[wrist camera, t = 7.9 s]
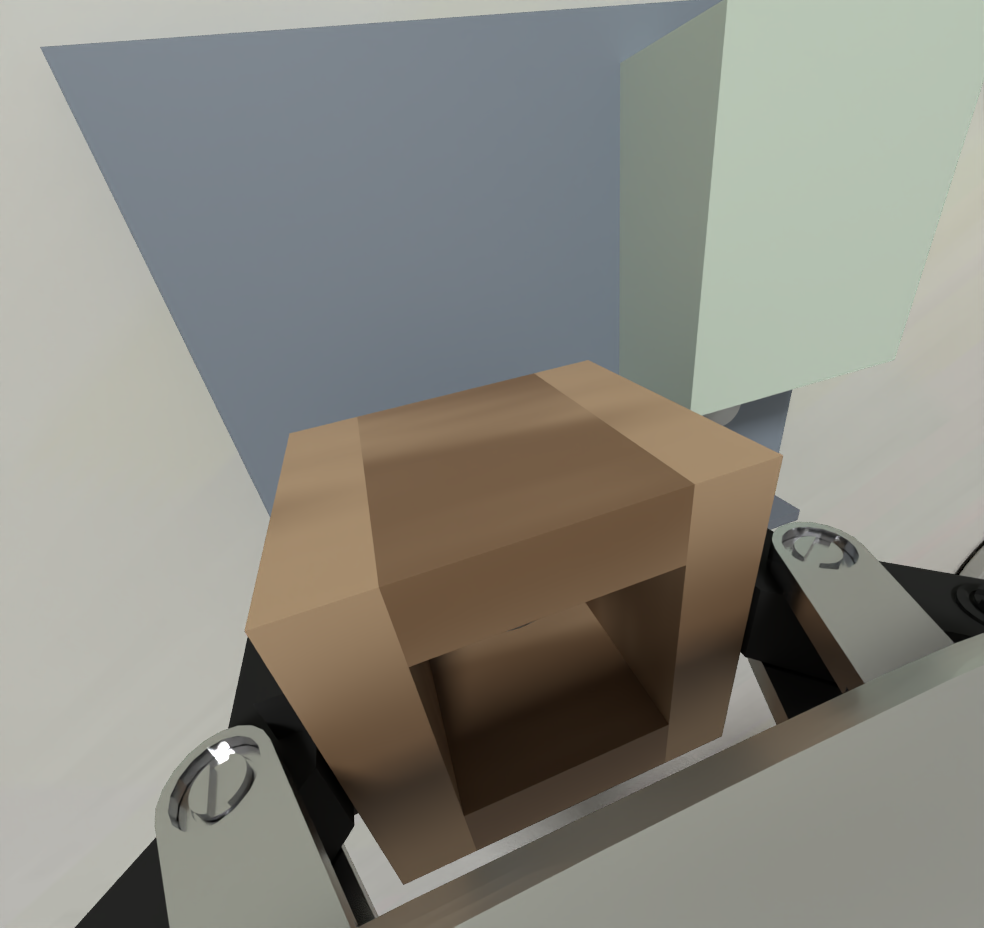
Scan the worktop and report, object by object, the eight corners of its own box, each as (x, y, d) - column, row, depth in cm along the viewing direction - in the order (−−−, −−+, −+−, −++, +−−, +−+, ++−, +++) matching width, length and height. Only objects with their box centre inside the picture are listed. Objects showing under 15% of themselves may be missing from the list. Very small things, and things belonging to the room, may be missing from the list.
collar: (595, 572, 13) (721, 736, 9) (378, 648, 12) (403, 884, 7) (588, 359, 10) (782, 455, 6) (289, 433, 8) (245, 631, 4)
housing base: (748, 481, 20) (924, 586, 14) (332, 618, 17) (329, 839, 11) (832, 7, 12) (1310, -214, 6) (75, 69, 9) (-533, -318, 3)
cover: (792, 337, 16) (894, 360, 13) (619, 382, 14) (689, 419, 12) (851, 39, 12) (1017, -24, 9) (620, 63, 10) (727, -3, 8)
